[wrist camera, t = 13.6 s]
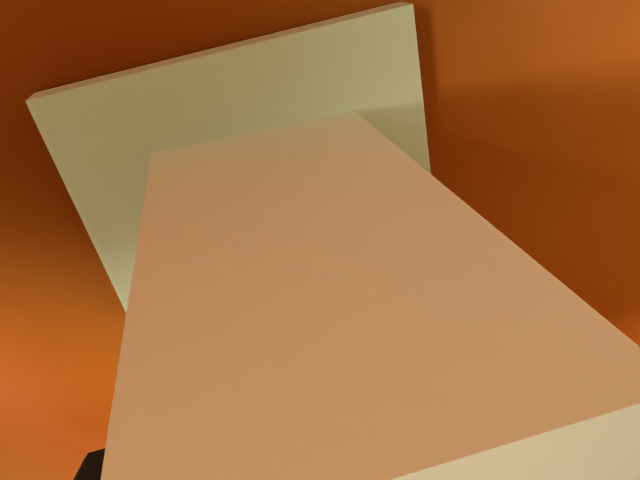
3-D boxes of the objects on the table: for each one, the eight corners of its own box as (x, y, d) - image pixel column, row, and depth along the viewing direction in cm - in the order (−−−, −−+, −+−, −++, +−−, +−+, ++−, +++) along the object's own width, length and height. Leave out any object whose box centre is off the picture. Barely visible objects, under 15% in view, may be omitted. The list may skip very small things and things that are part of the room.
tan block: (232, 419, 15) (288, 903, 7) (151, 152, 11) (86, 572, 3) (383, 378, 16) (583, 783, 8) (355, 111, 12) (691, 388, 4)
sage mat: (208, 467, 17) (209, 488, 16) (35, 92, 11) (24, 100, 10) (444, 388, 18) (455, 405, 17) (399, 1, 12) (413, 3, 11)
